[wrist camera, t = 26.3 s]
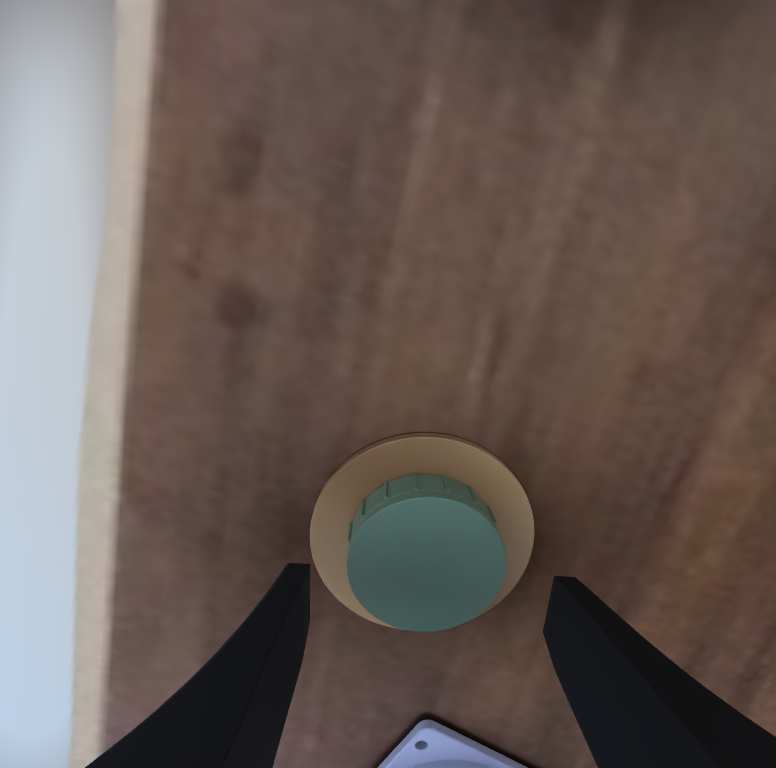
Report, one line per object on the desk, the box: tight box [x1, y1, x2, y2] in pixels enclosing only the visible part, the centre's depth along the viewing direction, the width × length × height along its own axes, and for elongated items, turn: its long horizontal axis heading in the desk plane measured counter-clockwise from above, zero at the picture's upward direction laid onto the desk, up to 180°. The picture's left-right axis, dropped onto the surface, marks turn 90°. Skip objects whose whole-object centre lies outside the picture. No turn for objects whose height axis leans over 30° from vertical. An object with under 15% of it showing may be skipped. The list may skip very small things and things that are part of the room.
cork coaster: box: [310, 433, 535, 630], centre depth 14 cm, size 8×8×1 cm
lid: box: [346, 473, 507, 632], centre depth 13 cm, size 5×5×2 cm
